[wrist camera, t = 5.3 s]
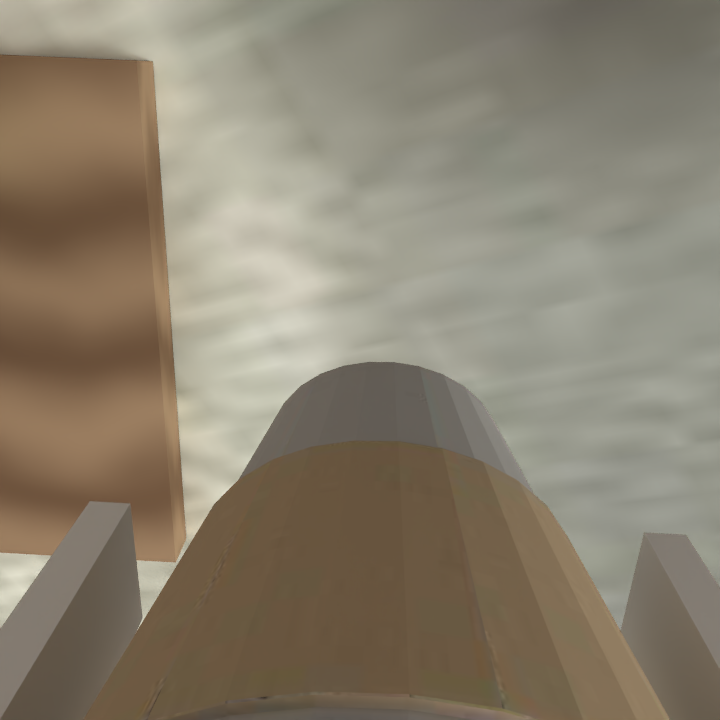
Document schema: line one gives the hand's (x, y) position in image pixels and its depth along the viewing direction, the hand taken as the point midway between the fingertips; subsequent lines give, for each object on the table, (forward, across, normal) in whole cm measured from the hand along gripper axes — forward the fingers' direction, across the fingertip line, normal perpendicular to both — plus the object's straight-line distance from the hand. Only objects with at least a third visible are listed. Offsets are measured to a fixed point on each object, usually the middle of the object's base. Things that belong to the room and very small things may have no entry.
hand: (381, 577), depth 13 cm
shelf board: (+20, -18, -3) cm, 27 cm away
